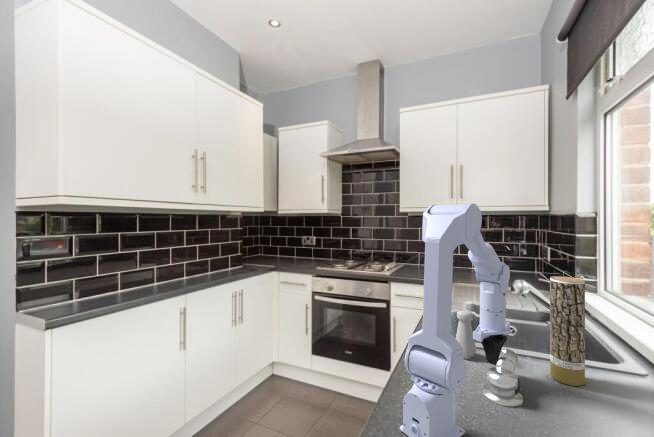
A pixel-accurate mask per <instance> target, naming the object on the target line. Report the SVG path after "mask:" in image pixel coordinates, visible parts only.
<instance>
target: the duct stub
mask: <svg viewBox="0 0 654 437" xmlns="http://www.w3.org/2000/svg"><path fill="white" fill-rule="evenodd" d="M520 379H521V378H520V377H519V376H518V388H517V389H516V390H514V391H505V390H500V389H497V388H495V387H493V386H491V385H490V384H489V383H488V384H485V385H484V386H482V389H481V390H482V395H483V396H484V398H486V399H487V400H488V401H490V402H492V403H494V404H496V405H499V406H503V407H506V408H507V407H508V408H509V407H510V408H518V407H520V406H522V405H523V403H524V396H523V395H522V394H521V393H520V389H521V388H520V386H521V384H520V382H521V381H520Z"/></svg>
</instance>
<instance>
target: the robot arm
mask: <svg viewBox="0 0 654 437" xmlns="http://www.w3.org/2000/svg"><path fill="white" fill-rule="evenodd" d="M482 215H483V214H482V211H481V209H480V207H479V206H478V204H476V203H473V202H472V203H465V204H442V205H441V204H439V205H438V204H431V205H429V206H428V207H427V209H426V210H425V211H424V212H423V213H422V231H421V233H422V234H421V235H422V236H421V240H422V241H423V242H424V244H425V247H424V270H423V272H424V275H423V301H422V302H423V303H422V325H421V326H422V327H421V329H420V330H418V331H416V332H414V333H412V334H411V335H410V336H409V337H408V344H407V348H406V351H405V354H404V355H405V356H404V364H405V366H404V367H405V369H406V371H407V372H408V374H410V380H411V381H413V385H412V388H411V389H410V390H409V391H408V392H407V393H406V394H405V395H404V396H403V400H402V425H400V426H399V430H400V431H401V432H402V433H404V434H405V435H406V436H408V437H462V436H463V435H465V434H466V430H465V429H464V428H462V427H461V426H459V425H458V424H456V399H455V398H456V395H455V394H456V393H455V392H457V391H458V390H460V389H461V387H462V386H463V384H464V382H465V378H466V374H467V373H466V372H467V367H466V363H465V359H464V357H463V347H462V346H461V344H460V343H459V342H458V341H457V340H456V337H455V336H454V335H453V334H452V309H453V307H452V302H453V301H452V300H453V298H452V297H453V274H454V273H453V272H454V270H453V269H454V251H455V250H456V249H457V247H459V246H460V245H465V247H466V248H467V249H468V251H467V257H468V259H469V261H470V262H471V264H472V266H474V273H475V279H476V281H477V282H479V324H478V326H477V327H476V328H475V330H472V331H473V339H474V341H477V342H480V343H481V345H482V348H483V350H484V354H485V358H486V362H487V363H488V364H490V365H493V366H496V363H497V361H498V359H499V355H500V352H501V351H502V350H503V347H504V345H505V343H506V342H507V341H508V340H507V339H508V337H507V335H510V334H511V322H508V321H506V320H507V319H506V316H507V315H506V314H507V313H506V312H507V311H506V310H507V305H506V304H507V300H506V299H507V293H508V291H509V283H510V282H509V281H510V277H511V270H510V266H509V265H508V264H506V263H505V262H503V261H501V260H500V258H499V256H498V254H497V253H496V251H495V249H494V247H493V246H492V245H491V244H490V243H487V242H485V240H484V237H483V235H482V233H481V228H482V223H483V222H482V221H483V216H482Z"/></svg>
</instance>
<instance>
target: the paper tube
mask: <svg viewBox="0 0 654 437" xmlns="http://www.w3.org/2000/svg"><path fill="white" fill-rule="evenodd" d="M549 348H550V349H549V368H550V370H549V371H550V374H549V375H550V376H551V378H553V380H555V381H557V382H559V383H561V384H563V385H565V386H572V387H581V386H583V385H584V384H585V383H586V283H585V280H584V279H582V278H577V277H572V276H571V277H570V276H559V275H558V276H550V278H549Z"/></svg>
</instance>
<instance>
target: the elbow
mask: <svg viewBox="0 0 654 437" xmlns="http://www.w3.org/2000/svg"><path fill="white" fill-rule="evenodd" d="M518 359H519V357H518V355H517V353H516V352H515V351H514V350H511V349H510V348H504V349H501V352H500V355H499V359H498V361H497V363H496V365H494V367H489V368H487V370H486V379H487V380H486V381H487V383H488V384H490V385H491V386H493V387H495V388H497V389H500V390H505V391H514V390H516V389H517V388H518V377H519V376H518V375H517V374H516V373H515V370H516V368H517V367H516V366H517V364H518Z"/></svg>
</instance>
